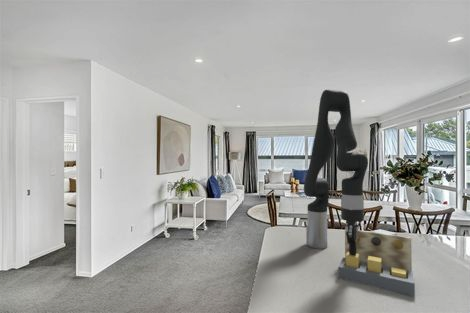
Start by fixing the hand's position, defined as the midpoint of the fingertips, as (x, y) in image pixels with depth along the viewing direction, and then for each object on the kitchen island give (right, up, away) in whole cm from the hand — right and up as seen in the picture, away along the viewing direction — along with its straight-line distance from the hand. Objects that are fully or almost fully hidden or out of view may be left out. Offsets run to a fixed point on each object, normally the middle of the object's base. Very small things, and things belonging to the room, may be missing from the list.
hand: (352, 254), depth 89 cm
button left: (0, -5, 0) cm, 5 cm away
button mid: (+6, -5, -4) cm, 9 cm away
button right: (+12, -7, -8) cm, 16 cm away
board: (+6, -8, -4) cm, 10 cm away
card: (+12, -8, +6) cm, 15 cm away
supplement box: (+18, -8, +11) cm, 22 cm away
